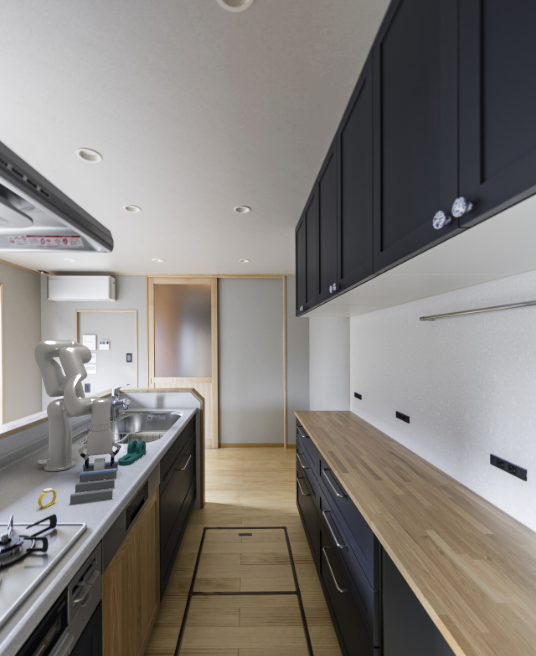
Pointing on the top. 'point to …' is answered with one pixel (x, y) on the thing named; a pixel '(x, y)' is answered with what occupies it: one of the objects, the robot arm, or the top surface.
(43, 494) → the watch
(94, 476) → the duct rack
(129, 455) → the bracket
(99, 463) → the off-white rectangular prism
